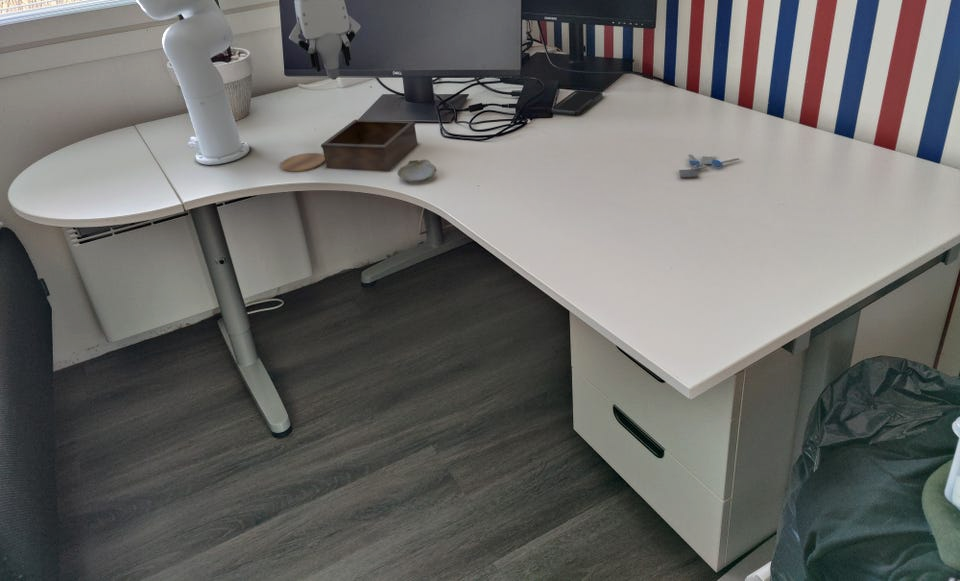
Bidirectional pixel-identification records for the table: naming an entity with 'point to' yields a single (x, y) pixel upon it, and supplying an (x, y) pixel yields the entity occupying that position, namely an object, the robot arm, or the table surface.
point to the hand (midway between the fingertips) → (331, 66)
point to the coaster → (303, 162)
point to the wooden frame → (351, 155)
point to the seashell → (417, 170)
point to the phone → (577, 102)
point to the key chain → (705, 160)
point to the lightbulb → (329, 53)
